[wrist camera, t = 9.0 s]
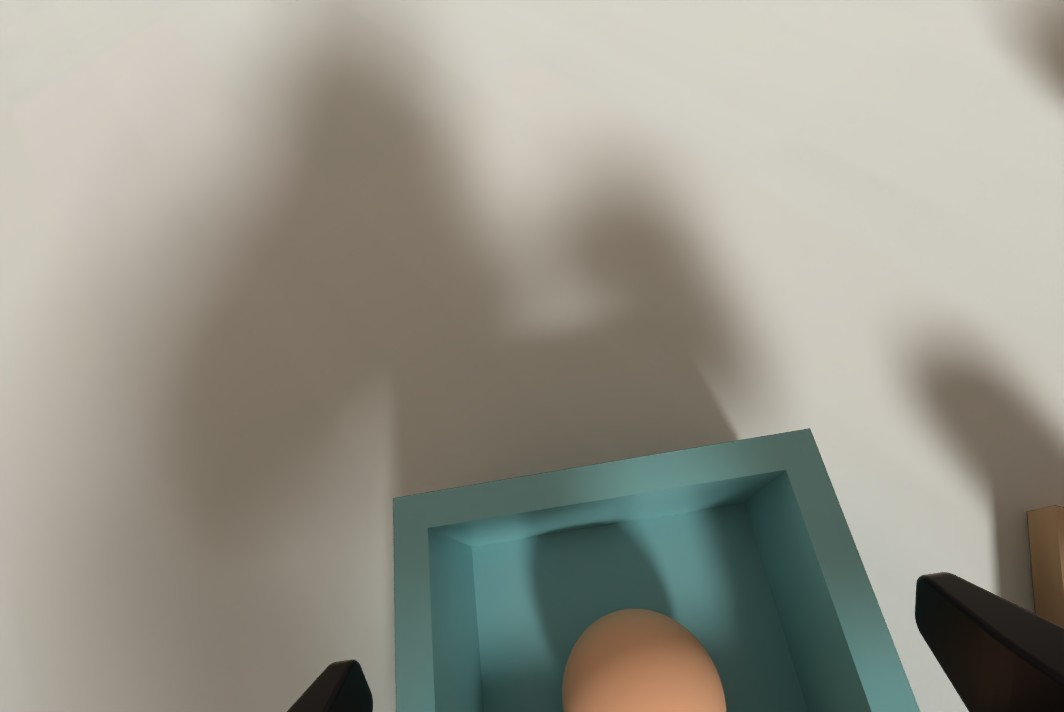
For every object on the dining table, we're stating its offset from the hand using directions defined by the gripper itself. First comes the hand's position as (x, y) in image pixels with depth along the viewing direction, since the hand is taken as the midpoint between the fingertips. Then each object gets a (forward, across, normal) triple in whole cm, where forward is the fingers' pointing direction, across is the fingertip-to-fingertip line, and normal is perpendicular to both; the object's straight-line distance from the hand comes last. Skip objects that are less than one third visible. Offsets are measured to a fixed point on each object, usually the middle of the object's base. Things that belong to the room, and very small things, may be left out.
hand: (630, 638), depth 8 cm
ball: (+4, 0, +6) cm, 7 cm away
